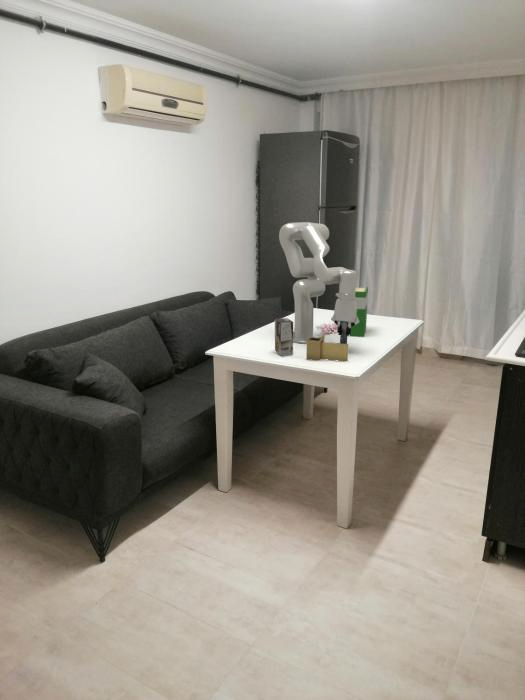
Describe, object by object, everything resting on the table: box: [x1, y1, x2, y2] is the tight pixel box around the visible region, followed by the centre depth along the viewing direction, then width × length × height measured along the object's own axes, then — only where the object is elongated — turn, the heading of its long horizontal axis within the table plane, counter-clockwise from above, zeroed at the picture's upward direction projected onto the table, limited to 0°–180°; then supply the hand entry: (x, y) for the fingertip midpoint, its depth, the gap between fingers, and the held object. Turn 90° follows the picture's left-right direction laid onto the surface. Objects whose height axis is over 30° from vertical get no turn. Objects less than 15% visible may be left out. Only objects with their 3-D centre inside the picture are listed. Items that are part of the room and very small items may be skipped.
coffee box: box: [274, 317, 294, 357], centre depth 258 cm, size 9×6×16 cm
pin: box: [339, 321, 349, 344], centre depth 258 cm, size 3×3×15 cm
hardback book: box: [349, 286, 369, 338], centre depth 295 cm, size 18×7×24 cm, turn 166°
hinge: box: [306, 333, 349, 362], centre depth 254 cm, size 18×18×9 cm
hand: (344, 334), depth 259 cm, fingers closed on pin, 3 cm apart
